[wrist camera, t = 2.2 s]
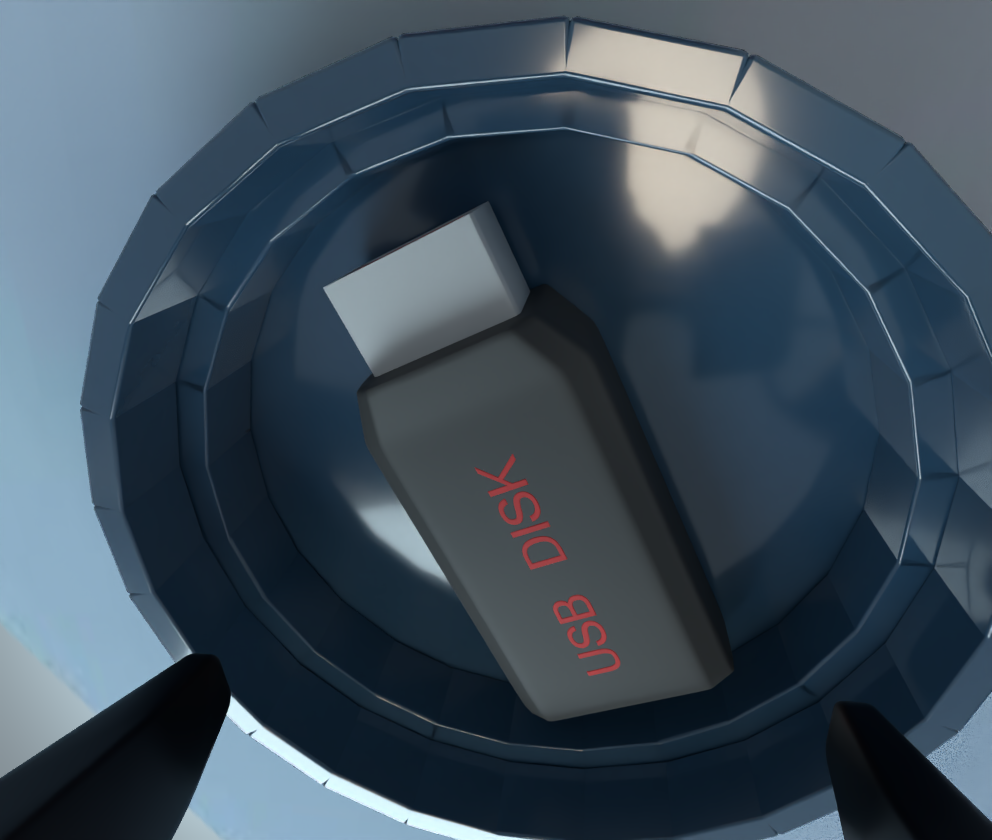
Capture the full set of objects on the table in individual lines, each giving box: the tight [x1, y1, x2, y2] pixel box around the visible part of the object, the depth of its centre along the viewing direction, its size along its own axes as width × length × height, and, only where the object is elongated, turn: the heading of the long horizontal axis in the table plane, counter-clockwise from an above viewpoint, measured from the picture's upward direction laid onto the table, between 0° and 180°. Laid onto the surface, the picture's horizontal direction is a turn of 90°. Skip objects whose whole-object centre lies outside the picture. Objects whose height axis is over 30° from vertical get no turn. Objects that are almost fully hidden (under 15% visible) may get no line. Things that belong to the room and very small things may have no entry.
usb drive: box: [323, 201, 734, 721], centre depth 14 cm, size 5×12×3 cm, turn 27°
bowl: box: [80, 16, 992, 840], centre depth 14 cm, size 17×17×4 cm
